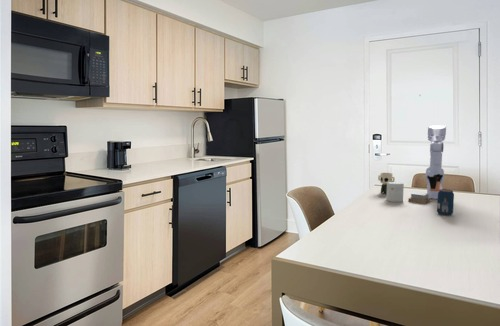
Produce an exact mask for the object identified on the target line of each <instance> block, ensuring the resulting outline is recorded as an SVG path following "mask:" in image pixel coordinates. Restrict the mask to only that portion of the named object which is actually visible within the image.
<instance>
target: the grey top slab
mask: <svg viewBox="0 0 500 326" xmlns="http://www.w3.org/2000/svg"><path fill="white" fill-rule="evenodd" d="M428 195H429V194H427V192H426V193H425V192H418V191H415V192H412V193H411V194H410V197H411V198H414V199H421V200H425V199H427V198H428Z"/></svg>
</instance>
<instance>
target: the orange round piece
mask: <svg viewBox="0 0 500 326" xmlns="http://www.w3.org/2000/svg"><path fill="white" fill-rule="evenodd" d="M439 190H440V182H438V181H437V183H436V188H435V189H431V187H430V191H439Z"/></svg>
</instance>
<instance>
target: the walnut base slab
mask: <svg viewBox="0 0 500 326" xmlns="http://www.w3.org/2000/svg"><path fill="white" fill-rule="evenodd" d="M431 199H432V198H427V199H425V200H421V199H414V198H411V196H410V197H408V199H407V200H408V202H409V203H415V202H416V203H417V204H422V203H423V204H424V205H425V204H428V203H430V202H431V201H432V200H431Z"/></svg>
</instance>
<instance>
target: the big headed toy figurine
mask: <svg viewBox="0 0 500 326" xmlns="http://www.w3.org/2000/svg"><path fill="white" fill-rule="evenodd" d="M377 180H378V181H380V184H381V186H380V187H381V188H380V193H381V194H386V195H387V182H395V177H394V176H393V173H391V172H381V173H380V175H378V179H377Z"/></svg>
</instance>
